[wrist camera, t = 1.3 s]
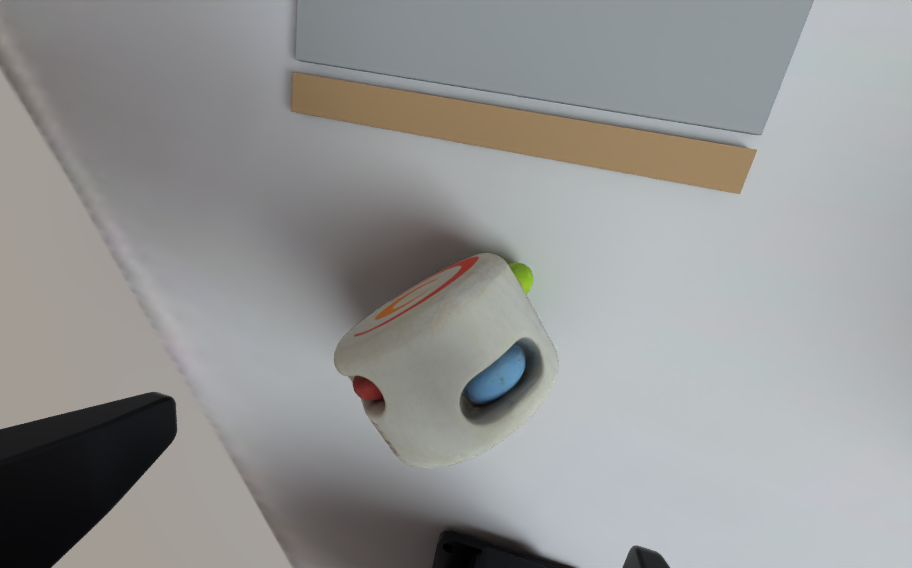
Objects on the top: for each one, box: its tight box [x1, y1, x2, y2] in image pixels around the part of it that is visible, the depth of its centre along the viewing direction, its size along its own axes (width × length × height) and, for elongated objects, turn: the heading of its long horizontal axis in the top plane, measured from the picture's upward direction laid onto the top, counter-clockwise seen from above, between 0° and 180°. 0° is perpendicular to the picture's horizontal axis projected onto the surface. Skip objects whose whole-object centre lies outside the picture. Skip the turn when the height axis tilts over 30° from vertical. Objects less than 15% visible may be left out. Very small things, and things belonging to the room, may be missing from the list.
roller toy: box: [334, 253, 558, 468], centre depth 13 cm, size 4×6×6 cm
